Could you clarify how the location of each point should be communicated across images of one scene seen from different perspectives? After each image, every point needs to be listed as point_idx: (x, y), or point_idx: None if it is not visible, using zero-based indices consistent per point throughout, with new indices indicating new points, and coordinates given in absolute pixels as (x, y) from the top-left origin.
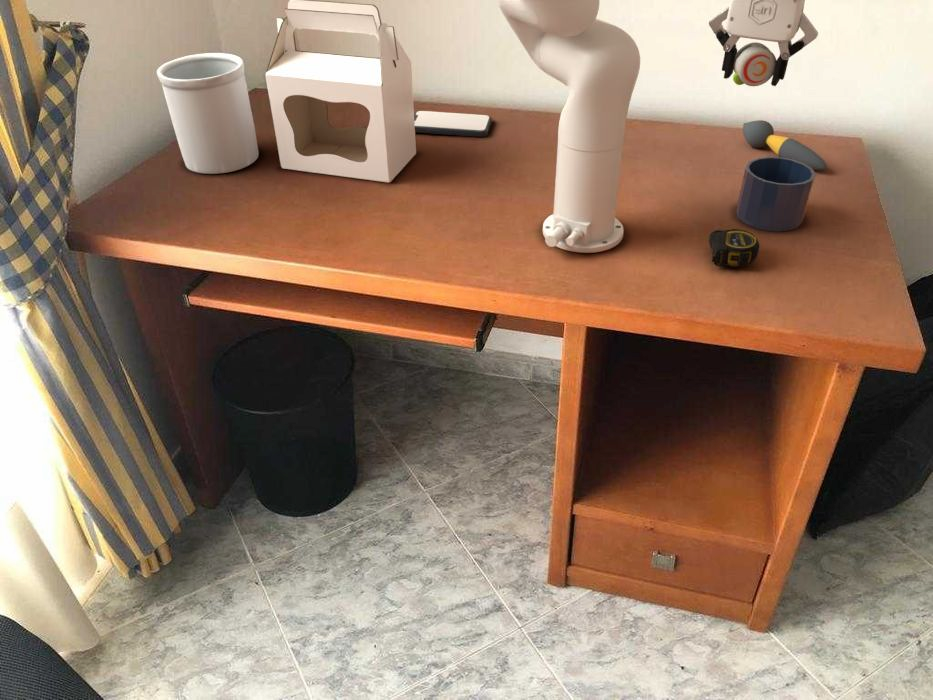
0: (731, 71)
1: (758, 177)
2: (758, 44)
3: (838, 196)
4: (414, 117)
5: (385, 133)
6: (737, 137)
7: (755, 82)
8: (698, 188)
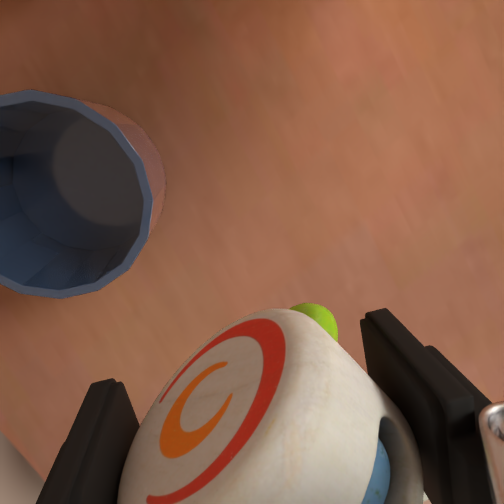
0: (375, 376)
1: (65, 105)
2: None
3: (32, 369)
4: None
5: None
6: None
7: (203, 351)
8: (286, 204)
